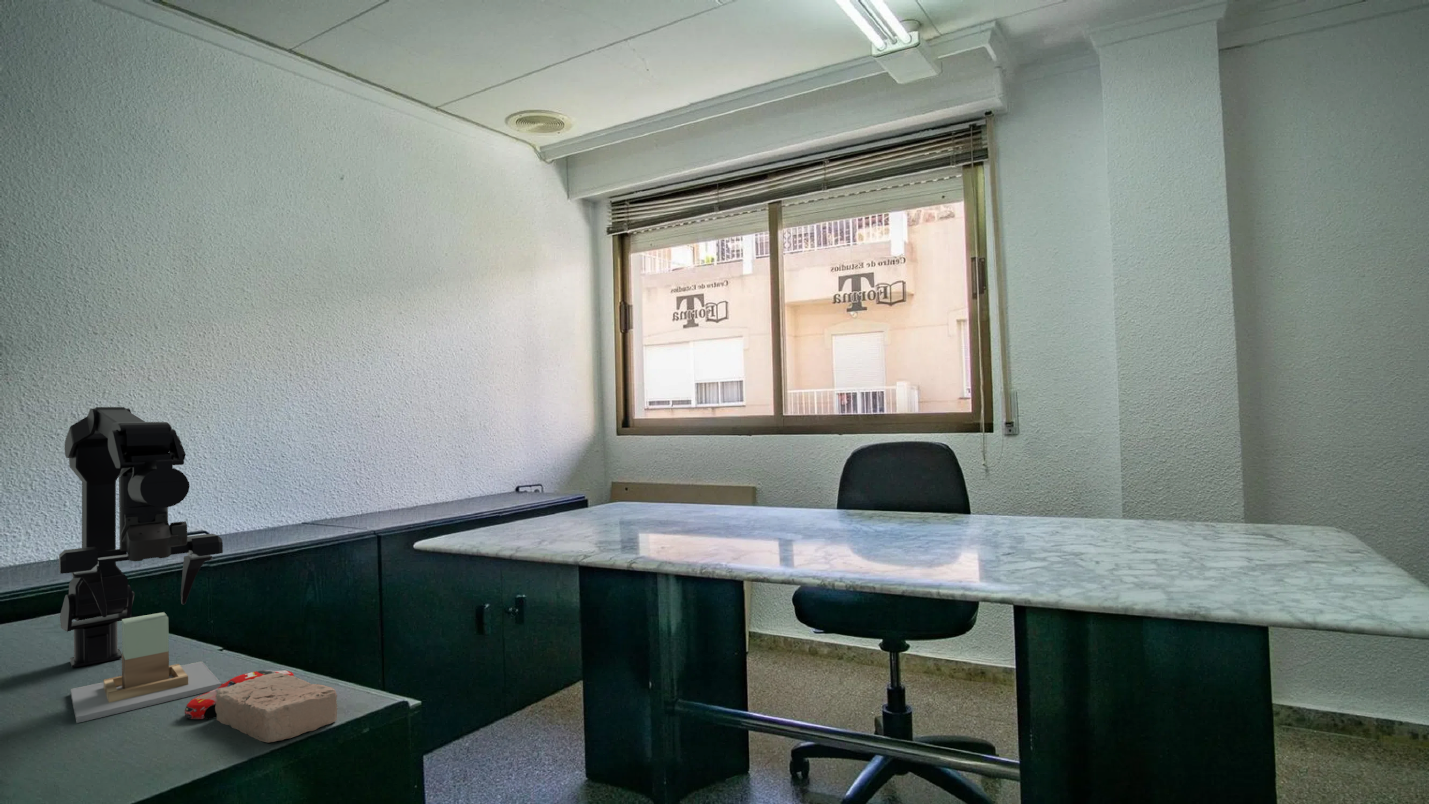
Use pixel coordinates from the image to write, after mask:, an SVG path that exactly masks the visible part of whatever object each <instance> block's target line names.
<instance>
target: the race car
mask: <svg viewBox="0 0 1429 804" xmlns="http://www.w3.org/2000/svg"><path fill="white" fill-rule="evenodd" d="M272 673H283V674H284V675H285V674H288V675H290V676H295V675H294V673H293V672H292V671H290V670H285V669H284V670H268V669H265V670H256V671H251V672H246V673H243V674H240V675H237V676H234V677H232V678H230V679H229V680H227V681H226V682H225V683H221V686H220V687H219V688H217V689H215V690H212V691H209V692H205V693H201V694H199V696H196V697H194V698H192V699H191V700H190V701H188V703H187V704H186V706H185V707H184V708H185V709H184V716H185V718H187V719H191V720H204V719H206V720H208V721H209V720H212V719H215V718H216V719H217V714H216V711H215V706H216V703H217V699H216V697H215V696H216V694H217V691H218V690H219V689H222V688H226V687H229V686H232V685H234V684H236V683H241V682H243V681H247V680H249V679H254V678H256V677H260V676H262V675H267V674H272Z"/></svg>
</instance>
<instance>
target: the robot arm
mask: <svg viewBox="0 0 1429 804" xmlns="http://www.w3.org/2000/svg"><path fill="white" fill-rule="evenodd" d="M171 425H172V424H170V423H169V422H167V421H144V420H143V419H142V418H140V417H139V416H137V415H135V414H134V413H132V411H131V409H130V408H126V407H124V406H95V407H94V408H90V409H89V411H88V414H87V416H85V417H84V418H82V419H80V420H79V421H77V422H75V423H74V424H72V425H70V426H69V428H68V432H67V433H66V438H65V440H64V455H65V458H66V459H68V462H69V468H70V469H71V470H72V472H73V473H74V474H75V475H76V476H77V478H78V479H79V480H80V481H81V547H79V548H69V549H64V550H62V551H61V552H60V553H59V554H58V570H59V573H60V575H61V574H70V575H71V576H72V578H71V579H70V581H69V584H68V594H65V596H64V599H63V603H62V607H61V610H60V615H59V620H60V621H59V622H60V629H61V630H64V631H65V632H72V631H73V656H72V657H70V658H69V662H70V666H71V668H79V667H84V666H89V665H92V664H93V665H95V664H99V663H105V662H110V661H114V660H119V659H122V652H121V650H120V648H119V647H118V638H119V637H118V622H122V619H126V618H132V617H133V616H132V614H133V613H132V610H133V609H132V608H133V603H134V599H135V594H136V593H135V592H134V591H133V590H132V587H131V585H130V584H129V583H128V582H129V579H128V577H127V575H125V574H124V573H123V571H122V570H121V569H120V568H119V566H118V565H117V563H116V562H123V561H124V562H125V561H130V562H142V561H143V560H148V559H149V560H150V559H156V558H157V559H166V558H168V557H169V558H170V556H173V555H180V554H181V555H182V554H187V555H184V556H183V561H182V563H183V564H182V572H181V573H182V574H181V575H182V577H181V585H180V603H181V605H185V604H186V603H187V600H188V598H189V595H190V593H191V589H192V587H193V584H194V582H195V579H196V577H197V574H198V573H199V571H200V569H201V567H202V566H203V565H204V564H205V562H208V561H212V560H213V556H212V555H219V554H223V553H224V549H223V548H224V547H223V546H224V545H223V539H222V537H220V536H219V535H217V534H214V533H204V534H197V535H188V523H187V521H185V520H184V521H176V522H170V524H169V508H170V507H173V506H176V505H178V504H180V503H181V502H182V501H183V500H185V498H186V497H187V495H188V493H189V491H190V482H189V480H188V477H187V476H186V475H185V473H184V472H182V471H181V470H179V469H177V468H174V467H173V466H183V465H185V459H186V452H185V449H184V446H183V443H182V442H181V439H180V436H178V434H177V432H176V430H175V429H174V428H173V427H172V426H171ZM117 480H118V507H119V508H118V512H119V513H118V518H119V519H118V522H119V523H118V526H119V528H118V529H119V531H118V533H119V539H118V540H119V548H117V546H116V545H117V543H116V542H117V541H116V539H117V538H116V537H117V526H116V525H117V523H116V522H117V518H116V517H117V507H116V506H117V503H116V501H117V495H116V494H117V493H116V492H117V491H116V490H117ZM73 620H75V621H73Z"/></svg>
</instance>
